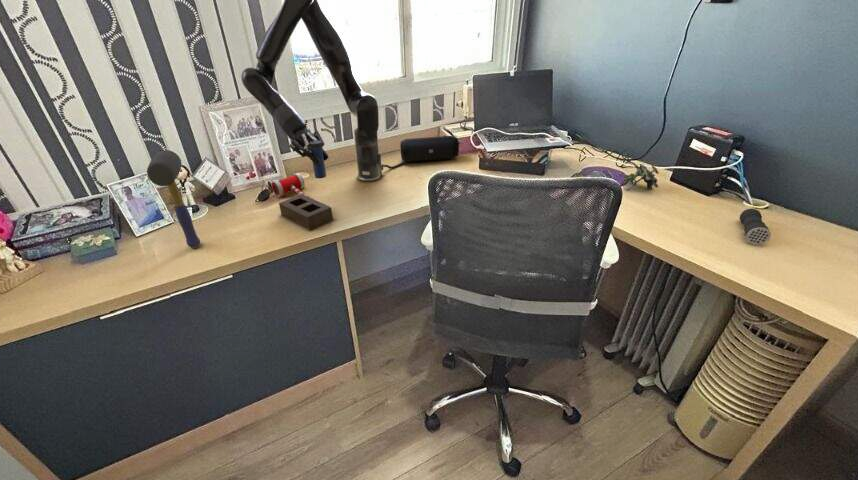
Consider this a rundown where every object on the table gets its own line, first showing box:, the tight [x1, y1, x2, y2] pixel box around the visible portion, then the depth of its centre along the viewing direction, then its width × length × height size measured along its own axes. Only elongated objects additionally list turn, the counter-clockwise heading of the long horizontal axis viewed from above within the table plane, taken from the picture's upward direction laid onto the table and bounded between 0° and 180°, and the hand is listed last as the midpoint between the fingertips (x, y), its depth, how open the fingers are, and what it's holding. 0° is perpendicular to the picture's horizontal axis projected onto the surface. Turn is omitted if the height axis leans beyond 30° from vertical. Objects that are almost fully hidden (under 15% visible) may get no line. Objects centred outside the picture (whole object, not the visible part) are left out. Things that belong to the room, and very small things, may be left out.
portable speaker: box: [399, 135, 460, 163], centre depth 188 cm, size 26×10×10 cm, turn 96°
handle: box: [310, 140, 327, 179], centre depth 144 cm, size 4×4×12 cm
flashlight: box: [739, 208, 772, 246], centre depth 127 cm, size 15×5×5 cm, turn 154°
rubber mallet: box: [146, 149, 201, 249], centre depth 126 cm, size 12×8×30 cm, turn 14°
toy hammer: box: [270, 172, 310, 198], centre depth 160 cm, size 23×12×6 cm, turn 43°
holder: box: [278, 194, 334, 231], centre depth 147 cm, size 10×18×5 cm, turn 46°
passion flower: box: [619, 163, 659, 190], centre depth 155 cm, size 11×11×12 cm
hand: (322, 160), depth 143 cm, fingers closed on handle, 4 cm apart
